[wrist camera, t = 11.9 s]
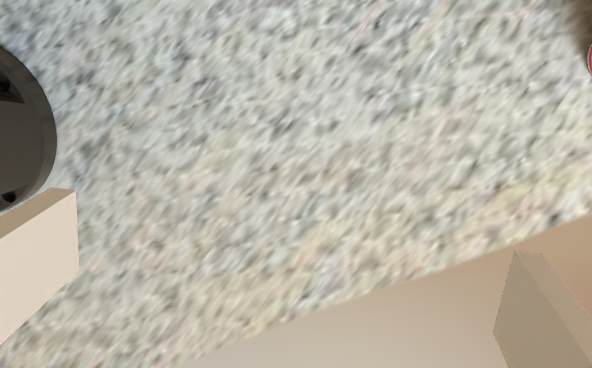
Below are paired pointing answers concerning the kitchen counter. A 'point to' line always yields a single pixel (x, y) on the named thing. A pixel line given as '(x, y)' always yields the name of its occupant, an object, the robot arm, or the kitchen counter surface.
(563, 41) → the kitchen counter surface
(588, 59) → the pill bottle
